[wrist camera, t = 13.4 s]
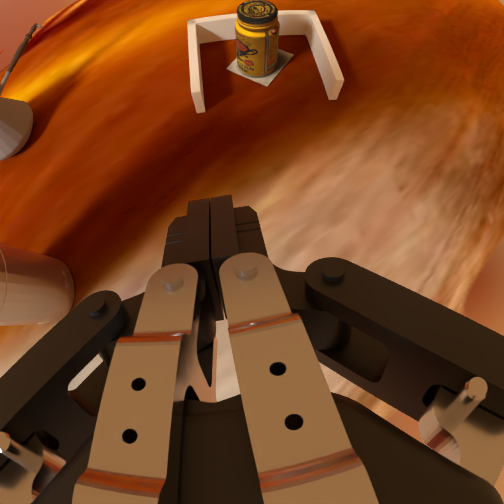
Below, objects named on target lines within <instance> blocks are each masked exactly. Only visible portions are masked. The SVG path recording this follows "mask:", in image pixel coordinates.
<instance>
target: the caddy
mask: <svg viewBox="0 0 504 504" xmlns="http://www.w3.org/2000/svg"><path fill="white" fill-rule="evenodd" d="M277 16H278V21H279V23H280V31H279V35H306V37H307V39H308V42H309V45H310V47H311V50H312V53H313V55H314V58H315V61H316V64H317V66H318V69H319V72H320V75H321V78H322V81H323V84H324V87H325V90H326V93H327V96H328V99H329V100H337V97H338V95H339V92H340V90H341V87H342V85H343V82H344V78H343V75H342V72H341V70H340V67H339V65H338V62H337V60H336V57H335V55H334V52H333V50H332V48H331V45H330V43H329V41H328V38H327V36H326V34H325V32H324V29H323V27H322V25H321V23H320V21H319V19H318V16H317V14H316V12H315V11H313V10H287V11H278V15H277ZM236 20H237V14H228V15H220V16H212V17H205V18H199V19H193V20H187V21H188V45H189V65H190V82H191V94H192V98H193V101H194V105H195V108H196V112H197V113H202V112H205V104H204V93H203V82H202V71H201V59H200V47H199V44H202V43H208V42H215V41H222V40H230V39H236V36H235V23H236Z"/></svg>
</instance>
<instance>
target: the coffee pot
mask: <svg viewBox="0 0 504 504" xmlns="http://www.w3.org/2000/svg"><path fill="white" fill-rule="evenodd" d="M37 26H39V27H41V28H43V29H44V27H42V26H40V25H38V24H36V23H35V24H34V25H33V26H32V28H31V30H30V32H29V33H28V34H26V38H25V39H24V41H23V42H22V43H21V45H20V46H19V48H18V49H17V51H16V53H15V55H14V57H13V59H12V61H11V63H10V65H9V68H8V70H7V72H6V74H5V76H4V78H3V80H2V82H1V84H0V95H1V93H2V90H3V88H4V86H5V84H6V81H7V79H8V77H9V75H10V73H11V72H12V70H13V68H14V67H15V65H16V63H17V62H18V60H19V58H20V57H21V55H22V53H23V52H24V50H25V47H26V45H27V43H28V41H29V39H31V38H32V34H33V32H34V31H35V30H36V28H37ZM32 125H33V112H32V108H31V107H30V105H29V104H28V103H26V102H24V101H19V100H13V99H8V98H2V97H0V160H5V159H7V158H9V157H11V156H13V155H14V154H16V153H17V152H19V151H20V150H21V149H22V148H23V146H24V145H25V144H26V142H27V141H28V139H29V137H30V134H31V130H32Z"/></svg>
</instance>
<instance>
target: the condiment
mask: <svg viewBox="0 0 504 504" xmlns="http://www.w3.org/2000/svg"><path fill="white" fill-rule="evenodd" d="M277 15H278V10H277V8H276V6H275V5H274V4H273V3H271V2H269V1H266V0H249V1H245V2H243V3H242V4H240V5H239V6H238V9H237V20H236V23H235V36H236V52H237V58H236V59H235V60H234V61H233V62H232V63H231V64H230V65H229V66H228V67H227V68H226V69H227V70H230V71H232V72H234V73H236V74H239V75H241V76H243V77H246V78H248V79H250V80H253V81H255V82H258V83H260V84H263V85H265V86H268V85H269V84H270V83H271V81H272V80H273V79H274V78H275V77H276V76H277V74H278V73H279V72H280V71H281V69H282V68H283V67H284V66H285V65H286V63H287V62H288V61H289V60H290V59H291V57H292V56H293V55H294V54H291V53H288V52H285V51H283V50H281V49H278V42H279V31H280V23H279V21H278V16H277Z"/></svg>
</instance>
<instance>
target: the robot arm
mask: <svg viewBox="0 0 504 504" xmlns="http://www.w3.org/2000/svg"><path fill="white" fill-rule="evenodd" d="M74 295H75V287H74V280H73V277H72V274H71V272H70V270H69V268H68V267H67V266H66V265H65V264H64V263H63V262H62V261H61V260H59V259H56V258H53V257H49V256H46V255H42V254H39V253H35V252H31V251H28V250H24V249H21V248H17V247H14V246H10V245H7V244H3V243H0V326H5V325H27V324H45V323H56V322H58V321H60V320H61V321H60V322H58V323H57V324H56V325H55V326H54V327H53V328H52V329H51V330H50V331H49V332H48V333H46V334H45V335H44V336H43V337H42V338H41V339H40V340H39V341H38V342H37V343H36V344H35V345H34V346H33V347H32V348H31V349H30V350H28V351H27V352H26V353H25V354H24V355H23V356H22V357H21V358H20V359H19V360H18V361H17V362H16V363H15V364H14V365H13V366H12V367H11V368H10V369H9V370H8V371H7V372H6V373H5V374H4V375H3V376H2V377H1V378H0V504H504V503H503V501H502V498H501V496H500V494H499V493H498V492H497V490H496V489H495V488H494V485H495V483H496V481H497V479H498V477H499V475H500V472H501V470H502V468H503V465H504V336H502V335H500V334H499V333H497V332H495V331H493V330H491V329H489V328H487V327H485V326H483V325H481V324H479V323H477V322H475V321H473V320H471V319H469V318H467V317H465V316H463V315H461V314H459V313H457V312H455V311H453V310H451V309H449V308H447V307H445V306H443V305H441V304H439V303H437V302H434V301H432V300H430V299H428V298H426V297H424V296H422V295H420V294H418V293H416V292H414V291H412V290H410V289H407V288H405V287H403V286H401V285H399V284H397V283H395V282H393V281H391V280H388V279H386V278H384V277H382V276H380V275H378V274H376V273H373V272H371V271H369V270H367V269H365V268H363V267H360V266H358V265H356V264H354V263H352V262H350V261H347V260H345V259H341V258H335V257H328V258H322V259H319V260H316V261H314V262H313V263H311V264H310V265H309V266H308V267H307V269H306V271H305V272H293V271H287V270H283V269H280V268H278V267H276V266H275V265H274V264H272V262H271V260H270V259H269V258H268V255H267V251H266V247H265V243H264V240H263V236H262V232H261V228H260V224H259V220H258V216H257V213H256V212H255V211H254V210H253V209H252V208H251V207H249V206H244V207H238V208H233V202H232V195H225V196H219V197H213V198H211V202H210V199H209V198H207V199H201V200H195V201H189V203H188V211H187V216H183V217H177V218H175V220H174V221H173V222H172V223H171V224H170V226H169V228H168V233H167V238H166V245H165V249H164V255H163V260H162V266H161V269H159V270H157V271H156V272H155V273H154V274H153V275H152V276H151V277H150V279H149V281H148V283H147V287H146V290H145V292H143V293H141V294H139V295H137V296H134V297H132V298H129V299H126V300H124V301H121V299H120V297H119V295H118V294H117V293H115V292H113V291H107V290H105V291H99V292H96V293H94V294H92V295H90V296H88V297H87V298H86V299H84V300H83V301H82V302H81V303H80V304H79V305H77V306H76V307H75V308H74V309H73V310H72V311H71V312H70V313H69V311H70V309H71V307H72V304H73V301H74ZM223 309H224V313H225V317H226V319H227V320H228V325H229V328H228V331H229V337H230V342H231V347H232V353H233V358H234V363H235V368H236V373H237V378H238V383H239V388H240V393H241V394H239V395H236V396H234V397H231V398H228V399H225V400H222V401H219V402H217V401H216V365H217V338H216V321H219V320H224V313H223ZM97 354H99V355H100V357H101V358H102V359H103V362H102V363H101V364H100V365H99V366H98V367H97V368H96V369H95V370H94V371H93V372H92V373H91V374H90V375H89V376H88V377H87V378H86V379H85V380H84V381H83V382H82V383H81V384H80V385H79V386H78V387H77V388H76V389H74V390H72V391H68V385H69V383H70V382H71V380H72V379H73V378H74V377H75V376H76V375H77V374H78V373H79V372H80V371H81V370H82V369H83V368H84V367H85V366H86V365H87V364H88V363H89V362H90V361H91V360H92V359H93V358H94V357H95V356H96V355H97ZM318 361H319V362H320V363H322V364H324V365H325V366H327V367H328V368H330V369H331V370H333V371H335V372H336V373H338V374H339V375H341V376H343V377H344V378H346V379H347V380H349V381H351V382H352V383H354V384H356V385H357V386H359V387H361V388H362V389H364V390H365V391H367V392H369V393H370V394H372V395H374V396H375V397H377V398H379V399H380V400H382V401H384V402H386V403H387V404H389V405H391V406H392V407H394V408H396V409H398V410H399V411H401V412H403V413H405V414H406V415H408V416H410V417H412V418H413V419H415V420H417V421H419V432H420V435H421V438H422V440H423V441H424V443H425V444H426V445H427V446H426V445H424V444H423V443H421V442H419V441H418V440H416V439H415V438H413V437H411V436H409V435H408V434H407V433H405V432H403V431H402V430H400V429H399V428H397V427H395V426H394V425H392V424H391V423H389V422H388V421H386V420H385V419H383V418H382V417H380V416H378V415H377V414H375V413H374V412H372V411H371V410H369V409H368V408H366V407H365V406H363V405H362V404H360V403H358V402H356V401H354V400H352V399H350V398H348V397H345V396H343V395H340V394H336V393H332V392H330V390H329V387H328V385H327V382H326V379H325V377H324V374H323V372H322V369H321V367H320V364H319V362H318ZM428 446H429V447H430V448H429V447H428ZM431 448H432V449H431Z"/></svg>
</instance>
